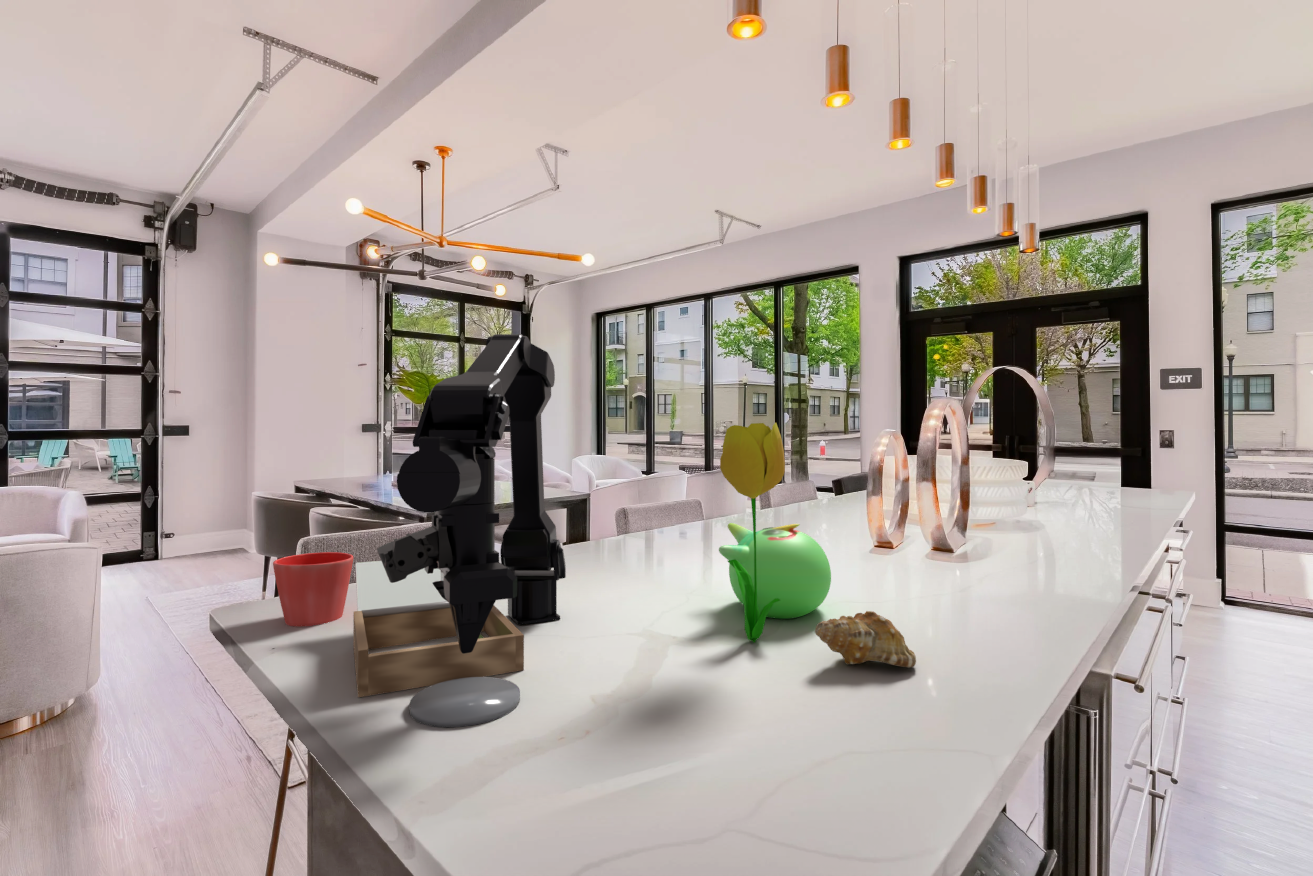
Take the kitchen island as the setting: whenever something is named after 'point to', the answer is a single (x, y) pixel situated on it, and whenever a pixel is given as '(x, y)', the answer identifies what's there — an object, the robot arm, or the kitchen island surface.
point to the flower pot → (313, 586)
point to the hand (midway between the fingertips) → (466, 652)
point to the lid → (395, 591)
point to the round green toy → (781, 569)
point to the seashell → (866, 639)
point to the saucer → (464, 701)
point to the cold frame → (429, 650)
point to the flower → (752, 496)
